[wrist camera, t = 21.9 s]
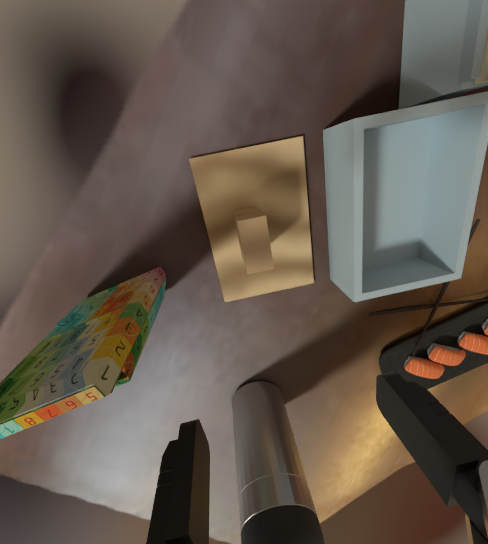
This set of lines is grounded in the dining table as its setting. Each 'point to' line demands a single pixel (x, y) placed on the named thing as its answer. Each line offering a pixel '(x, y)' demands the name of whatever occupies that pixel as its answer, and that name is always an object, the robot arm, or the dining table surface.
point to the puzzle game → (83, 354)
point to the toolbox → (412, 161)
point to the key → (484, 66)
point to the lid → (257, 217)
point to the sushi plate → (440, 344)
